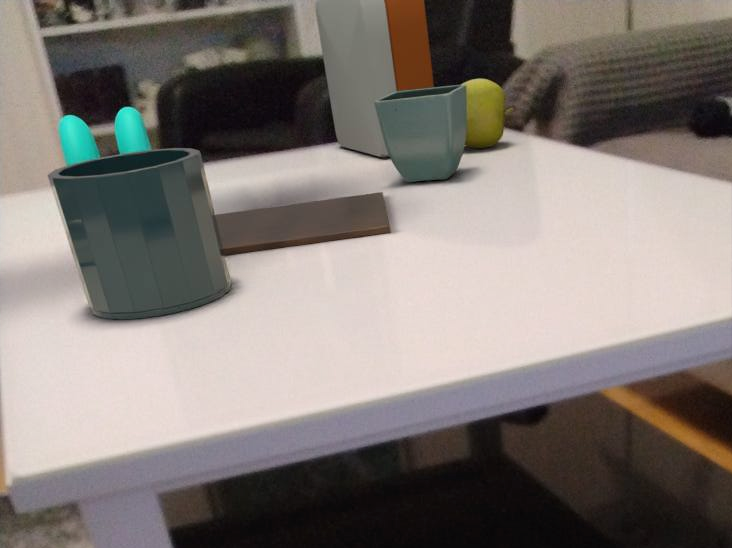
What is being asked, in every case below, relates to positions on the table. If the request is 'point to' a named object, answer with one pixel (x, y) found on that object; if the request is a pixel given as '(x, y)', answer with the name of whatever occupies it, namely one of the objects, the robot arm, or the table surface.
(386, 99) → the flower pot
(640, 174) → the table surface
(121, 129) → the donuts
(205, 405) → the table surface
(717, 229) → the table surface
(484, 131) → the apple
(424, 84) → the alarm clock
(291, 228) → the board
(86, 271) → the canister
